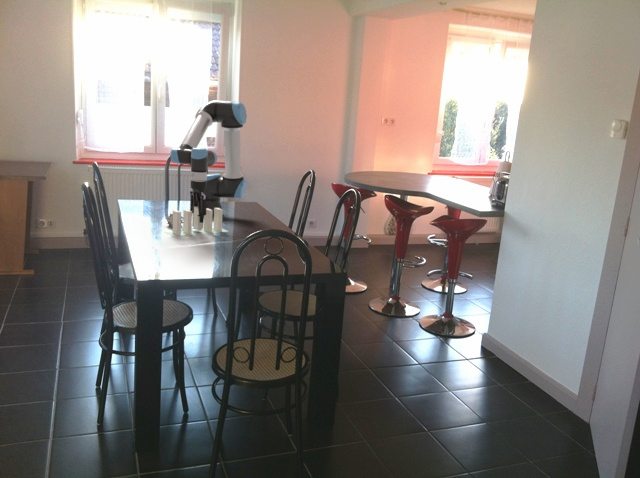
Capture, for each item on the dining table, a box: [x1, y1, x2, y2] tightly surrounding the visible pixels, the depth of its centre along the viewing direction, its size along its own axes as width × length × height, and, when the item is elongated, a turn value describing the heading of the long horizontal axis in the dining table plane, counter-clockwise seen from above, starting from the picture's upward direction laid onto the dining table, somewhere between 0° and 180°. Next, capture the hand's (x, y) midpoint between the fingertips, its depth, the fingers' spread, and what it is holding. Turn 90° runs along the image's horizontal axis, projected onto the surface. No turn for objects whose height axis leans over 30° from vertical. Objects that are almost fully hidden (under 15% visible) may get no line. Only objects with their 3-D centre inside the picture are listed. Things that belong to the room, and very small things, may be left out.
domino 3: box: [193, 206, 202, 231], centre depth 288 cm, size 2×5×11 cm, turn 38°
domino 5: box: [213, 208, 224, 231], centre depth 295 cm, size 2×5×11 cm, turn 38°
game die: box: [164, 213, 183, 228], centre depth 299 cm, size 9×8×10 cm
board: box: [164, 227, 230, 237], centre depth 290 cm, size 30×9×1 cm, turn 128°
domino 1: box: [172, 209, 182, 235], centre depth 282 cm, size 2×5×11 cm, turn 38°
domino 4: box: [203, 208, 213, 232], centre depth 292 cm, size 2×5×11 cm, turn 37°
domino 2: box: [182, 209, 193, 234], centre depth 285 cm, size 2×5×11 cm, turn 38°
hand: (197, 227), depth 289 cm, fingers open, 5 cm apart
